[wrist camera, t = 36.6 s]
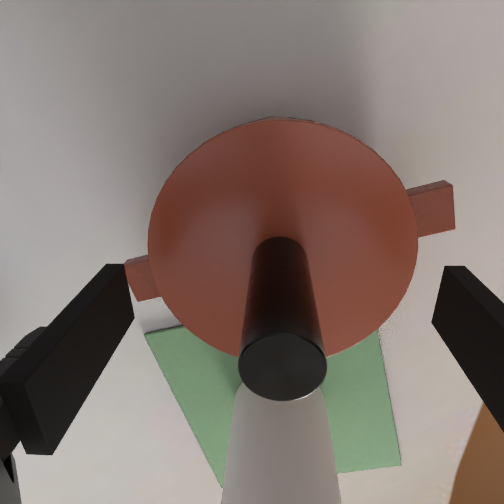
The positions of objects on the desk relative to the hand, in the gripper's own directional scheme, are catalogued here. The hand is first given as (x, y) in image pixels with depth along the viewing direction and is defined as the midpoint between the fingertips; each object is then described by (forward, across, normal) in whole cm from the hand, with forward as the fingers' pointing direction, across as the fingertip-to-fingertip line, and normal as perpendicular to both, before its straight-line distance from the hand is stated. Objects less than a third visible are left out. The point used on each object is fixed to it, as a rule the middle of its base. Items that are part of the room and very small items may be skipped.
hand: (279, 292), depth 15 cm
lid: (+4, 0, 0) cm, 4 cm away
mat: (+10, +1, -18) cm, 20 cm away
